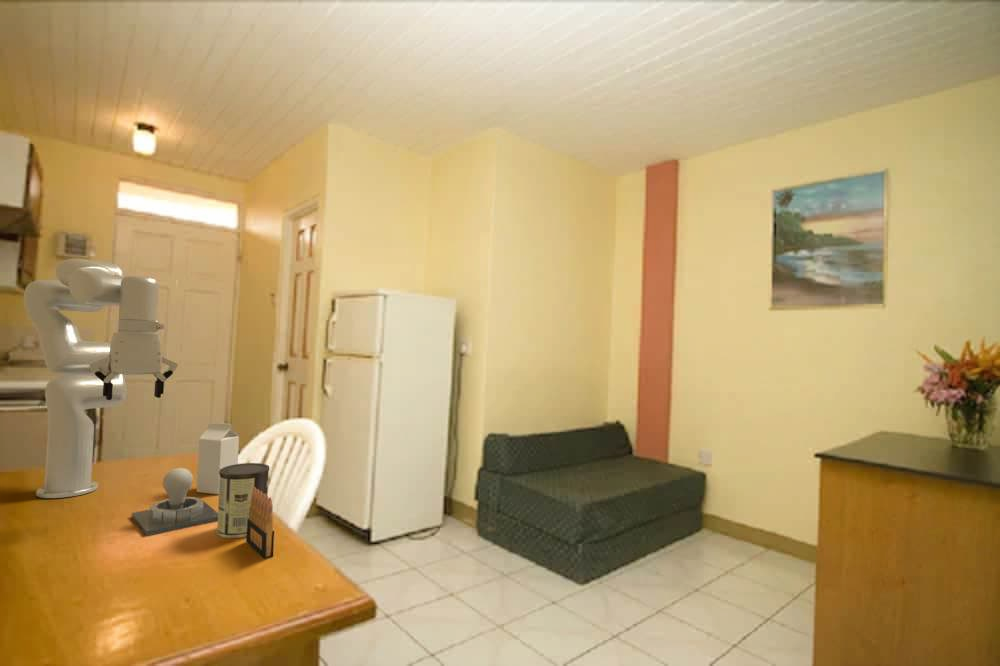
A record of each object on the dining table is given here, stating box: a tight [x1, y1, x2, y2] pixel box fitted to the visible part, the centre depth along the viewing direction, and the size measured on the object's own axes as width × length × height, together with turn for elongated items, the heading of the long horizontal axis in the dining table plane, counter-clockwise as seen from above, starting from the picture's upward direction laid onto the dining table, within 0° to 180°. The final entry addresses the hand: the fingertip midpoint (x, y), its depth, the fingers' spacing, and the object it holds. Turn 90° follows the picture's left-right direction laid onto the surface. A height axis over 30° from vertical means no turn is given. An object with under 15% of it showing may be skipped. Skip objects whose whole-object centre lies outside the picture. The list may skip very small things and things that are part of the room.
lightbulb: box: [162, 467, 194, 510], centre depth 118 cm, size 6×6×11 cm
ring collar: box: [131, 496, 218, 537], centre depth 118 cm, size 15×15×4 cm
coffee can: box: [216, 462, 270, 539], centre depth 113 cm, size 10×10×14 cm
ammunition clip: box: [245, 487, 275, 559], centre depth 104 cm, size 11×2×12 cm, turn 45°
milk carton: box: [196, 422, 240, 495], centre depth 140 cm, size 7×7×19 cm
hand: (133, 398), depth 119 cm, fingers open, 9 cm apart
